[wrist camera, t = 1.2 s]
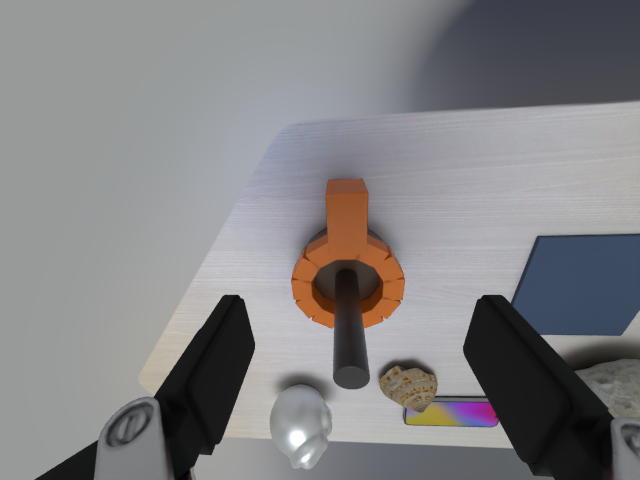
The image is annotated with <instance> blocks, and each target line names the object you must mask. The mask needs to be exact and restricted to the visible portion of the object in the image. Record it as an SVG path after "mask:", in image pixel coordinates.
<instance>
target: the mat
mask: <svg viewBox="0 0 640 480" xmlns="http://www.w3.org/2000/svg"><path fill="white" fill-rule="evenodd" d="M511 305H512V306H513V307H514V308H515V309H516V310H517V311H518V312H519V313H520V314H521V315H522V316H523V317H524V319H525V320H526V321H527V322H528V323H529V324H530V325H531V326H532V327H533V328H534V329H535V330H536V331H537V332H538V333H539V335H606V336H621V335H622V334H623V332H624V331H625V330H626V328H627V327H628V325H629V324H630V323H631V321H632V320H633V319H634V317H635V316H636V314H637V313H638V312H639V310H640V234H623V235H576V236H538V237H537V240H536V242H535V245H534V247H533V250H532V252H531V255H530V257H529V260H528V262H527V265H526V267H525V270H524V273H523V275H522V278H521V280H520V283H519V285H518V288H517V290H516V293H515V295H514V298H513V300H512V303H511Z"/></svg>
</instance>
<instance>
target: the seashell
mask: <svg viewBox="0 0 640 480" xmlns="http://www.w3.org/2000/svg"><path fill="white" fill-rule="evenodd" d="M437 385H438V383H437V378H436V376H433V375H431V374H426V373H424V372H423V371H422V370H420V369H418V368H412V369H407V370H405V369H404V368H402V367H400V366H395V367H393V368H392V369H390V370H389V371H388V372H387V373H386V375H383V377H382V378H381V380H380V388H381V390H382V391H383V393H384V394H385V395H386V396H387V397H388V398H389V399H391V400H393V401H395V402H397V403H398V404H399V405H401V406H404V407H405V408H407V409H409V410H412V411H416V412H419V413H423V412H424V411H425V409H426V408H427V407H428V406H429V405H430V403H431V402H432V400H433V399H434V397H435V394H436V391H437Z"/></svg>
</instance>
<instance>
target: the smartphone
mask: <svg viewBox="0 0 640 480" xmlns="http://www.w3.org/2000/svg"><path fill="white" fill-rule="evenodd" d="M403 419H404V423H405V424H407V425H421V426H458V427H495V426H497V425H498V423H499V419H498V417H497V416H496V414H495V412H494V410H493V408H492V406H491V404H490V402H489V401H488V399H487V398H447V397H434V399H433V400H432V402H431V403H430V405H429V406H428V407H427V408H426V409H425V411H424V412H423V413H419V412H416V411H412V410H409V409H407V408H405V407H404V416H403Z"/></svg>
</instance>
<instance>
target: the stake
mask: <svg viewBox="0 0 640 480" xmlns="http://www.w3.org/2000/svg"><path fill="white" fill-rule="evenodd" d="M326 234H328V233H327V228H326V229H324V230H322V231H321V232H319V233H318V234H316V235H315V236H314V237H313V238H312V239H311V241H310V242H309V243H308V244H310V243H312V242H314V241H316V240H317V239H319V238H321V237H323V236H325V235H326ZM367 234H368V235H370V236H372V237H374V238H376V239H378V240H380V241H382V239H381V238H380V237H379V236H378V235H377V234H375V233H374V232H372V231H371V230H369V229H367ZM382 242H383V241H382ZM307 246H308V245H307ZM306 248H307V247H306ZM379 285H380V276H379V274H378V273H377V271H376V270H375V268H374V267H371V266H369V265H367V264H365V263H363V262H361V261H359V260H335V261H333V262H331V263H329V264H327V265H326V266H324V267H322V268H320V269H319V271H318V272H317V274H316V276H315V277H314V286H315V287H316V288H317V290H318V291H319V292H320V293H321V295H322V296H323V297H324V298H326V299H329V300H331V301H333V302H335V308H334V355H333V379H334V382H335V383H336V384H337V385H338V386H340V387H342V388H345V389H359V388H362V387H364V386H366V385H367V384H368V382H369V380H370V375H369V366H368V358H367V350H366V341H365V333H364V325H363V317H362V308H361V301H363V300H365V299H367V298H370V297H371V295H372V294H373V293H374V292H375V290H376V289H377V288H378V287H379Z"/></svg>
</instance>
